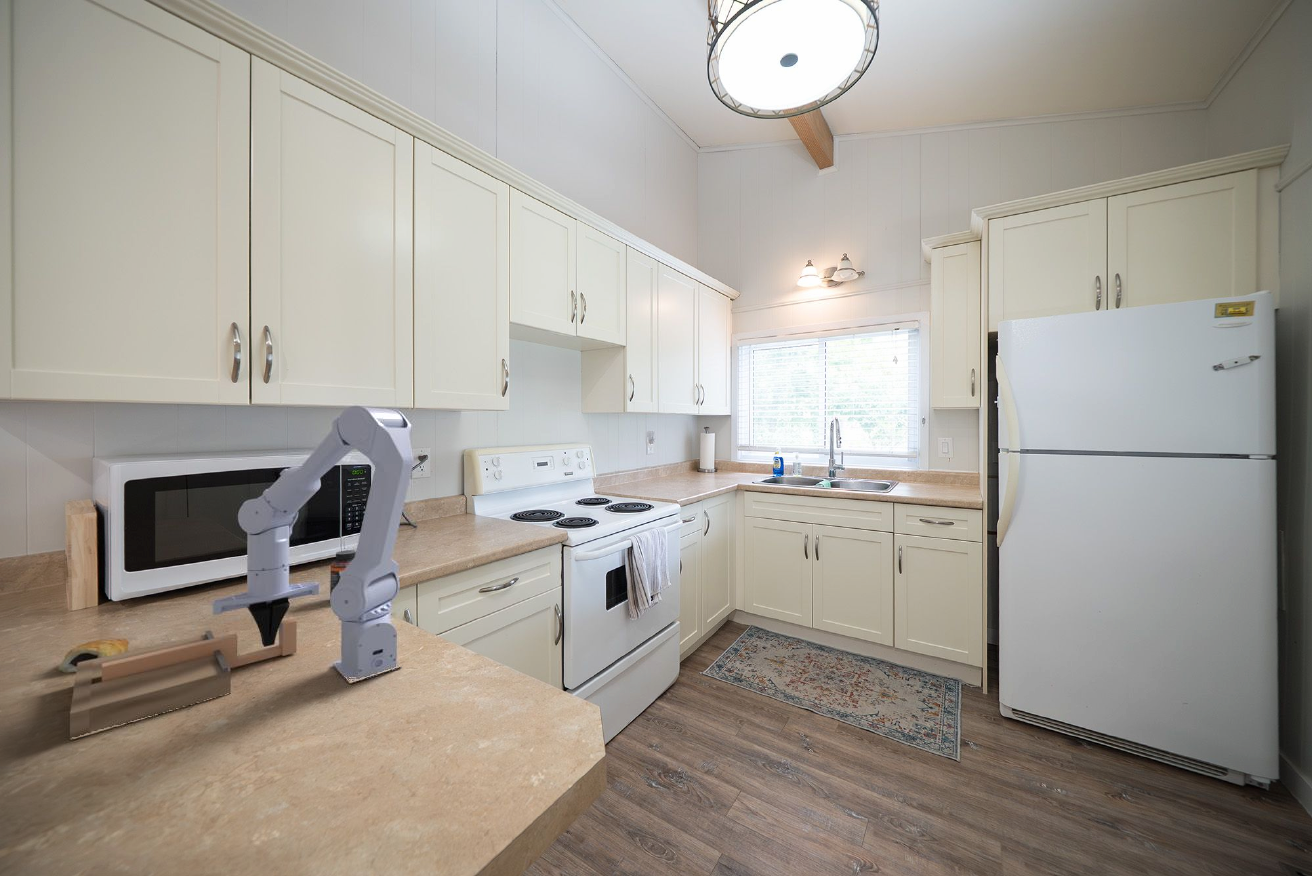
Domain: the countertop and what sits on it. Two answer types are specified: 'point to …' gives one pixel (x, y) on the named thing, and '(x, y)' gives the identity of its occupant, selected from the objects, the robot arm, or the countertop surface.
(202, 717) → the countertop surface
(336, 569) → the supplement bottle
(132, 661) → the stepped wooden plank
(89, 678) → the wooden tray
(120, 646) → the pastry
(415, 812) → the countertop surface
